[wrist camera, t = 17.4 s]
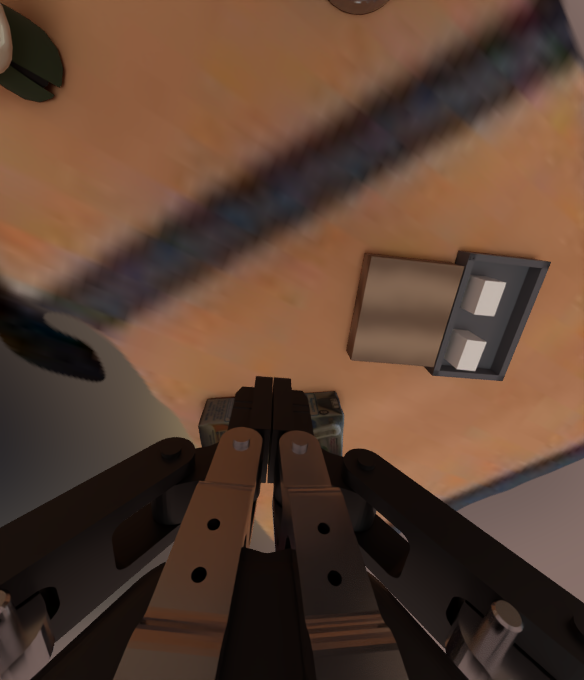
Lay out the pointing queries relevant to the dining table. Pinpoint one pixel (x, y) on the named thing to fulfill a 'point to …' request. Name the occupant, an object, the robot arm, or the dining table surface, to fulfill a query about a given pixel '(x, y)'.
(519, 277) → the tray
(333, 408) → the beverage carton
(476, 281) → the tile
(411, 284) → the flat wooden board
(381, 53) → the dining table surface
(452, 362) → the tile
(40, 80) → the character mug
